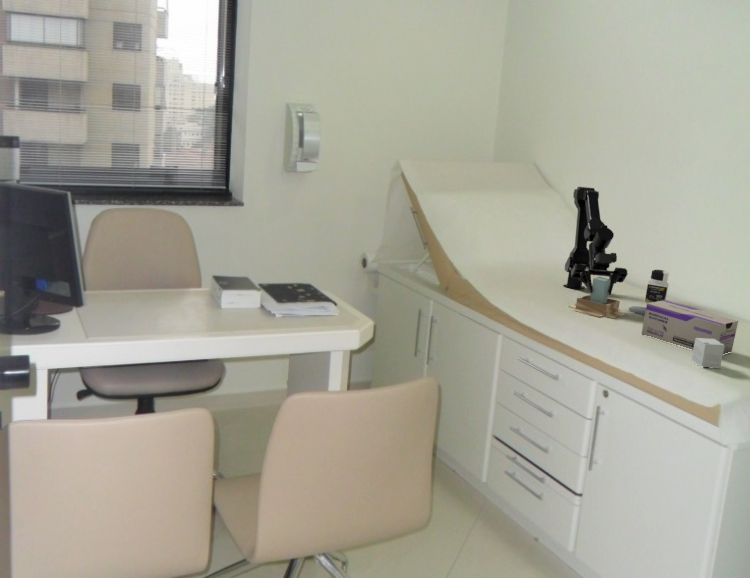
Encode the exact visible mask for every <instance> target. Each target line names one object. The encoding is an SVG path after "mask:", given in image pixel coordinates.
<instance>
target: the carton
mask: <svg viewBox="0 0 750 578" xmlns="http://www.w3.org/2000/svg"><path fill="white" fill-rule="evenodd" d="M590 296H591V293H589V294H586V295H582V296H580V297H577V298H576V303H573V304H570V305H568V307H569V308H571V309H572V311H573V312H576V311H577V313H581V314H585V315H587V314H588V315H587V316H591V317H596V318H598V319H599V318H603V317H604V318H605V317H606V318H610V319H612V320H613V319H616V318H618V317H622V316H624V314H625V315H626V313H625V312H622V311H621V309H620V308H619V307H620V300H616V299H613V298H610V297H609V298H607V304H606V305H604V304H600V303H596V302H592V301H590ZM619 310H620V311H619ZM602 316H603V317H602Z"/></svg>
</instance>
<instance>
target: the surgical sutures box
mask: <svg viewBox="0 0 750 578" xmlns="http://www.w3.org/2000/svg"><path fill="white" fill-rule="evenodd" d="M738 323H739V320H736V319H733V318H729V317H726V316H722V315H719V314H715V313H712V312H708V311H705V310H704V311H703V310H701V309H697V308H694V307H691V306H687V305H683V304H680V303H677V302H673V301H669V300H663V301H657V302H646V312H645V315H644V318H643V323H642V329H641V334H642V336H644V335H647V336H651V337H654V338H657V339H660V340H663V341H666V342H670V343H673V344H676V345H680V346H683V347H686V348H689V349H692V350H693V349H694V344H695V338H707V339H715V340H717V341H719V342H720V343H722V344H724V345H725V346H724V351H723V354H725V353H728V352H732V351H733V347H734V343H735V337H736V333H737V328H738ZM647 336H646V337H647ZM654 338H653V339H654ZM657 339H656V340H657ZM660 340H659V341H660ZM663 341H662V342H663ZM666 342H665V343H666Z"/></svg>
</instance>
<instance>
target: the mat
mask: <svg viewBox="0 0 750 578" xmlns="http://www.w3.org/2000/svg"><path fill="white" fill-rule="evenodd" d="M628 310H629V311H630V312H632V313H633V312H634V314H637V315H641V316H645V312H646V307H645V306H639V305H638V306H635V305H634V306H633V305H632V306H629V308H628Z"/></svg>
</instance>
